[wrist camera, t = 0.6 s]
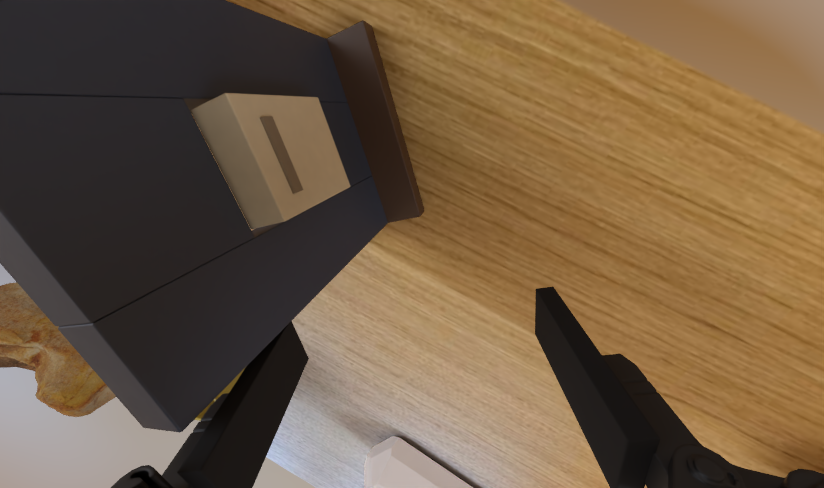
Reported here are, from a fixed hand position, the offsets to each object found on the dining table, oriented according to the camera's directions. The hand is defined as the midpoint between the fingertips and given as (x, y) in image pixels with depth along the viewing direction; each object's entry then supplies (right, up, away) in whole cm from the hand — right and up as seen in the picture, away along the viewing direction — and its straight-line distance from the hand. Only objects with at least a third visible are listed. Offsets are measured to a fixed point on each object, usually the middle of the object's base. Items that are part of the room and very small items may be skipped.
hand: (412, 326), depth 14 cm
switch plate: (-6, +12, +11) cm, 18 cm away
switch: (-5, +10, +3) cm, 11 cm away
